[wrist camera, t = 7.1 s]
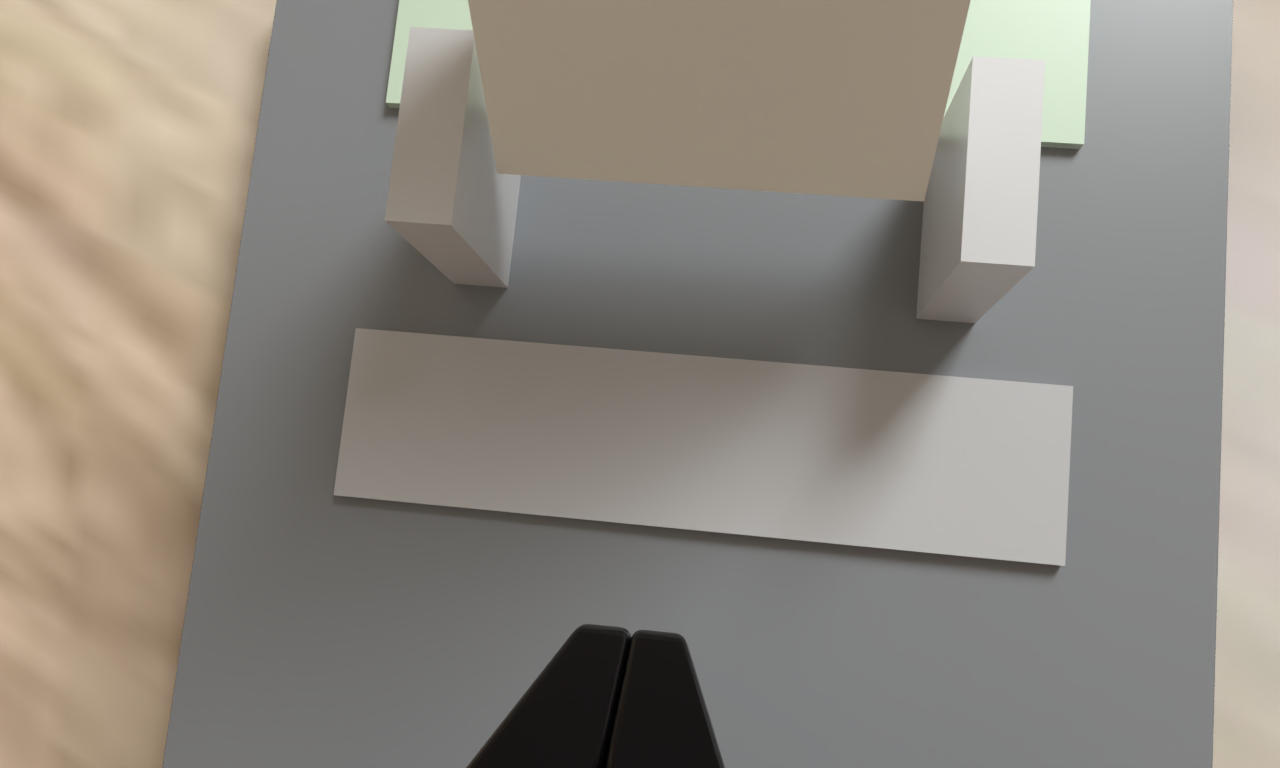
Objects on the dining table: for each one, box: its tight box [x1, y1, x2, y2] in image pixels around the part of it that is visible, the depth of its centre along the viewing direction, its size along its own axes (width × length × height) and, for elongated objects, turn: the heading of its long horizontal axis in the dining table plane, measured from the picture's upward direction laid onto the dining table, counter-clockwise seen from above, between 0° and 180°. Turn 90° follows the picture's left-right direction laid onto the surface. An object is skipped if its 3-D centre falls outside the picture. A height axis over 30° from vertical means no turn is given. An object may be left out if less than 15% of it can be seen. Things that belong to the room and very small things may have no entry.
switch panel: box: [163, 0, 1233, 768], centre depth 14 cm, size 18×14×4 cm
